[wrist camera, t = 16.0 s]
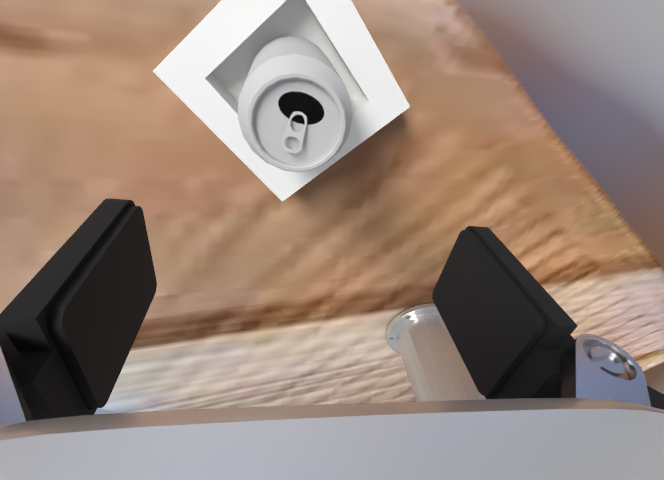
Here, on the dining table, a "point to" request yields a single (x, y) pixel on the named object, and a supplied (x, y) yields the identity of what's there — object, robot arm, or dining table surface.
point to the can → (294, 106)
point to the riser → (238, 55)
